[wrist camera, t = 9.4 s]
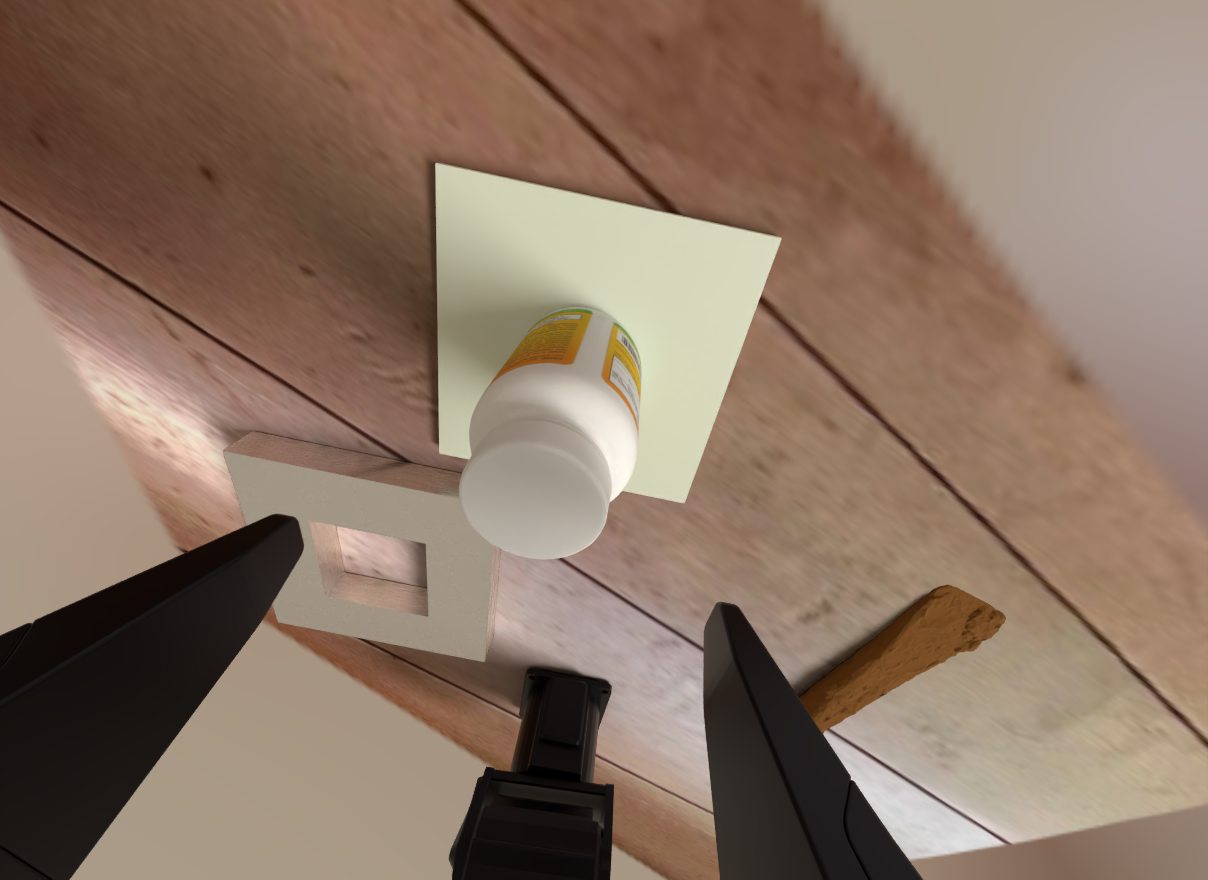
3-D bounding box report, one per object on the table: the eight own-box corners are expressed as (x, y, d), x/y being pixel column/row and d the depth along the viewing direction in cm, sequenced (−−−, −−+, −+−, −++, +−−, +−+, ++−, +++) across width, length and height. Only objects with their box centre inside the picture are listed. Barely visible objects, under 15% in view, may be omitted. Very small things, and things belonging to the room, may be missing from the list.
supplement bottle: (505, 389, 21) (410, 536, 13) (546, 281, 18) (458, 380, 10) (610, 435, 22) (585, 602, 13) (664, 338, 19) (673, 474, 11)
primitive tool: (941, 575, 26) (979, 628, 23) (1009, 611, 27) (1053, 666, 24) (736, 715, 36) (744, 766, 33) (792, 738, 36) (804, 789, 34)
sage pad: (683, 496, 24) (684, 503, 23) (443, 447, 24) (439, 453, 23) (777, 236, 17) (781, 238, 17) (441, 163, 17) (435, 162, 16)
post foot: (493, 635, 32) (484, 662, 30) (298, 597, 32) (278, 622, 30) (506, 482, 25) (496, 506, 23) (252, 430, 24) (222, 450, 23)
